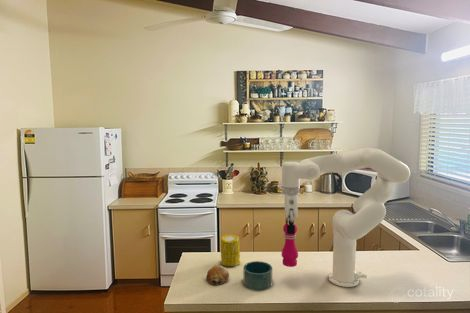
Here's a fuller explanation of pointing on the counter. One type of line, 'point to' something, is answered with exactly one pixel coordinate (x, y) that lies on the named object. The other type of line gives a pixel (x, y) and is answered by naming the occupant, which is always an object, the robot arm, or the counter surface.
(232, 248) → the food
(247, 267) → the pot
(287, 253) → the pepper mill
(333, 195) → the counter surface
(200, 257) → the counter surface
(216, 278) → the bread roll
